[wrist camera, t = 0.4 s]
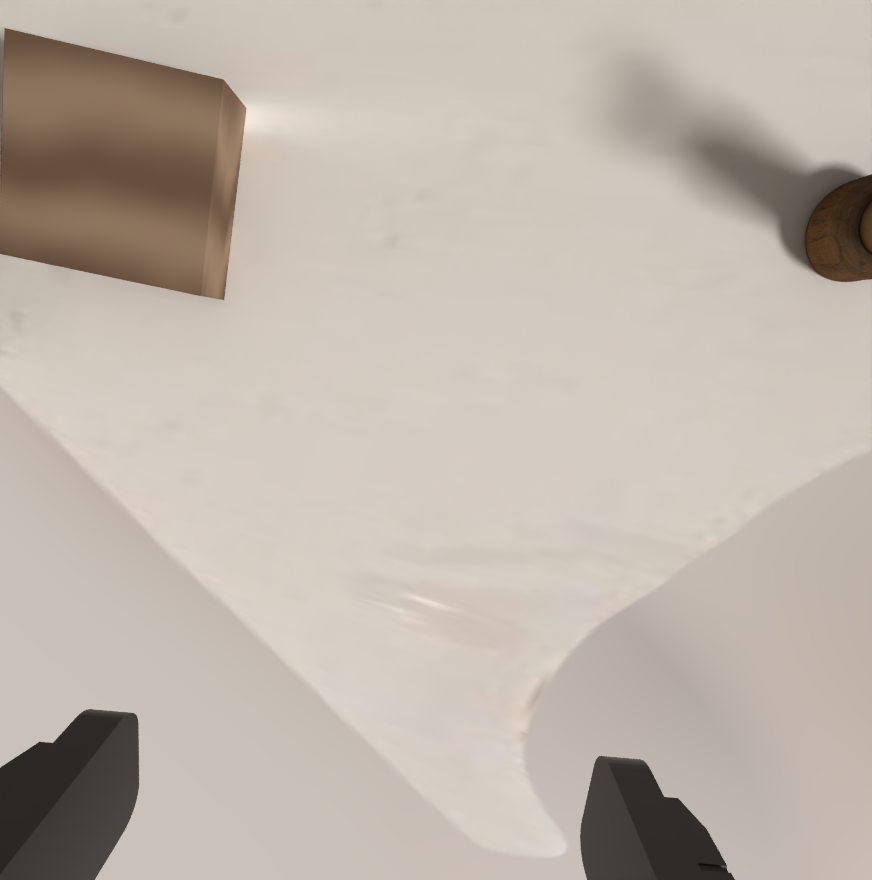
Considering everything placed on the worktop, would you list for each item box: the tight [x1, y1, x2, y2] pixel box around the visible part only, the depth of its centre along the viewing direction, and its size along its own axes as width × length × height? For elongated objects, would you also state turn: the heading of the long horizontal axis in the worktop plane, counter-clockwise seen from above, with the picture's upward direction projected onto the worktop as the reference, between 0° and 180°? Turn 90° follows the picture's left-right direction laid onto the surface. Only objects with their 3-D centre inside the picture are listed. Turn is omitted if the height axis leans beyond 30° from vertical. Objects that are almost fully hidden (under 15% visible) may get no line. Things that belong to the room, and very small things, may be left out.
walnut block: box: [0, 28, 246, 300], centre depth 31 cm, size 12×12×4 cm
